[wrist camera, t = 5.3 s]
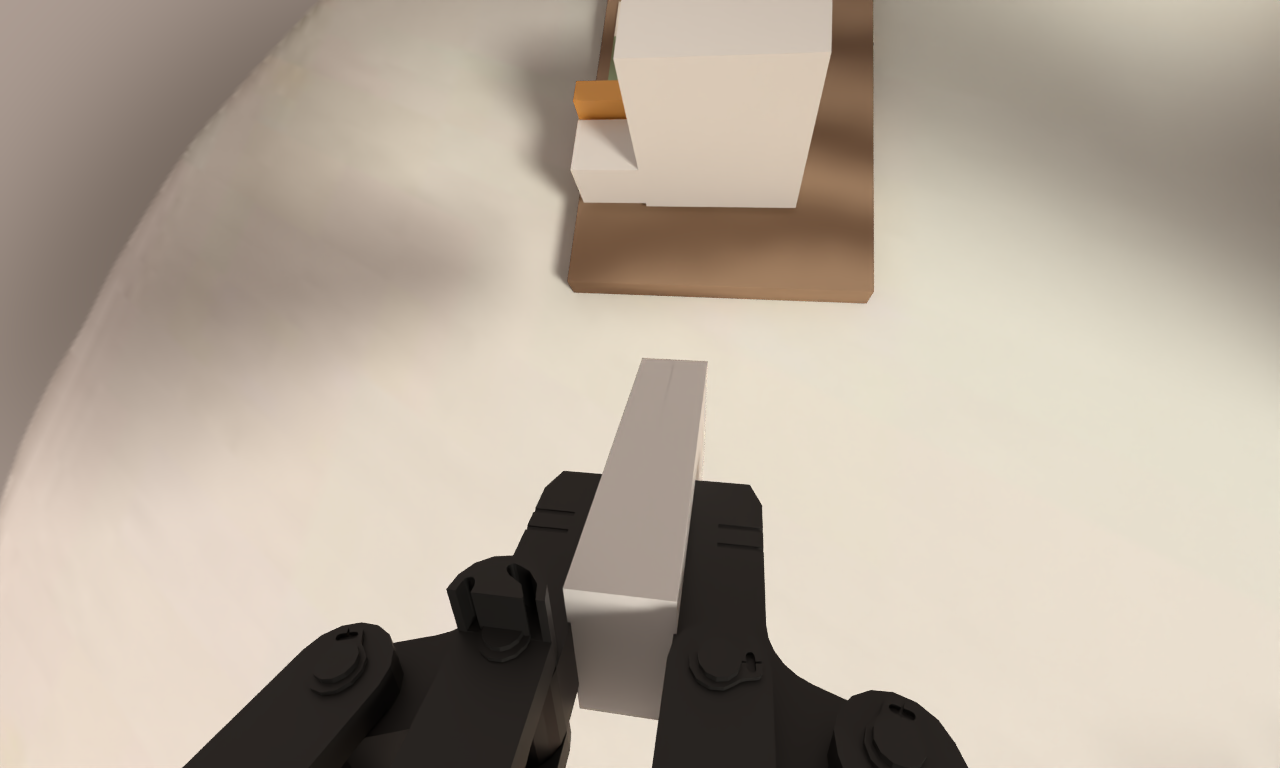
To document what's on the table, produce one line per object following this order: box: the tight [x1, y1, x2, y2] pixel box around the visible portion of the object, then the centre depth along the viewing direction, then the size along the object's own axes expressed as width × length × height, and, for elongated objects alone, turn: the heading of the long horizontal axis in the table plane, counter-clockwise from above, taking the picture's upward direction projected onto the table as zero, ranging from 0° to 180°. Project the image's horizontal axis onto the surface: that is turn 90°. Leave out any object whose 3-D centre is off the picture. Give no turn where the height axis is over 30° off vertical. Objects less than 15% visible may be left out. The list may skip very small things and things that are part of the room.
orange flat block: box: [573, 80, 627, 120], centre depth 30 cm, size 1×3×4 cm, turn 85°
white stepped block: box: [571, 0, 832, 208], centre depth 27 cm, size 12×12×10 cm
